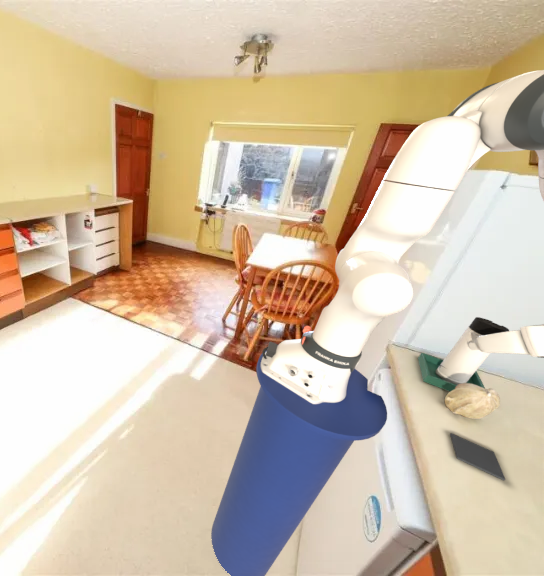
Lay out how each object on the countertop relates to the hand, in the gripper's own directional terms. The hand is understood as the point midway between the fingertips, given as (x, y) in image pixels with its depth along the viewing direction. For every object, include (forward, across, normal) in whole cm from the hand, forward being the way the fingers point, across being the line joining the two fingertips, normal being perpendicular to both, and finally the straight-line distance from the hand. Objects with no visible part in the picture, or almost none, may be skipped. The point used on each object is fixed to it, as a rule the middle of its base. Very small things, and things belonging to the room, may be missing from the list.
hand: (488, 347), depth 70 cm
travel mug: (+12, 0, +8) cm, 14 cm away
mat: (-4, +18, +24) cm, 30 cm away
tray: (+12, 0, +8) cm, 14 cm away
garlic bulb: (+4, +9, +16) cm, 19 cm away
